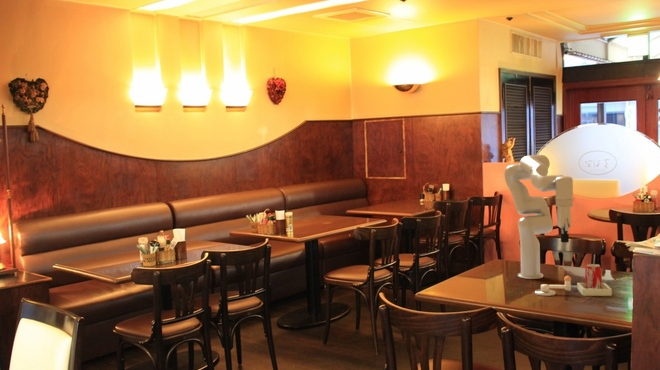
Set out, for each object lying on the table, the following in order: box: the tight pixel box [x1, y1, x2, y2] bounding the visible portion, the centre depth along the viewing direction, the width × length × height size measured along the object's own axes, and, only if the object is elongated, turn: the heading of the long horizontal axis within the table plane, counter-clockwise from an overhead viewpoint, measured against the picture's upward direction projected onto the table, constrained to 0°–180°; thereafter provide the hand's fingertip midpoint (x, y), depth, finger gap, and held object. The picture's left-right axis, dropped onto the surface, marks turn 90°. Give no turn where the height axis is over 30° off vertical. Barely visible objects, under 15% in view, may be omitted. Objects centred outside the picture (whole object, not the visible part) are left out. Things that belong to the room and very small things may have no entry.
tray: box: [576, 282, 613, 297], centre depth 293 cm, size 12×12×3 cm
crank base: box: [534, 288, 556, 297], centre depth 294 cm, size 9×9×1 cm
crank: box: [540, 275, 572, 292], centre depth 293 cm, size 4×13×7 cm, turn 78°
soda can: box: [584, 263, 603, 289], centre depth 293 cm, size 7×7×12 cm
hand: (564, 242), depth 297 cm, fingers closed
